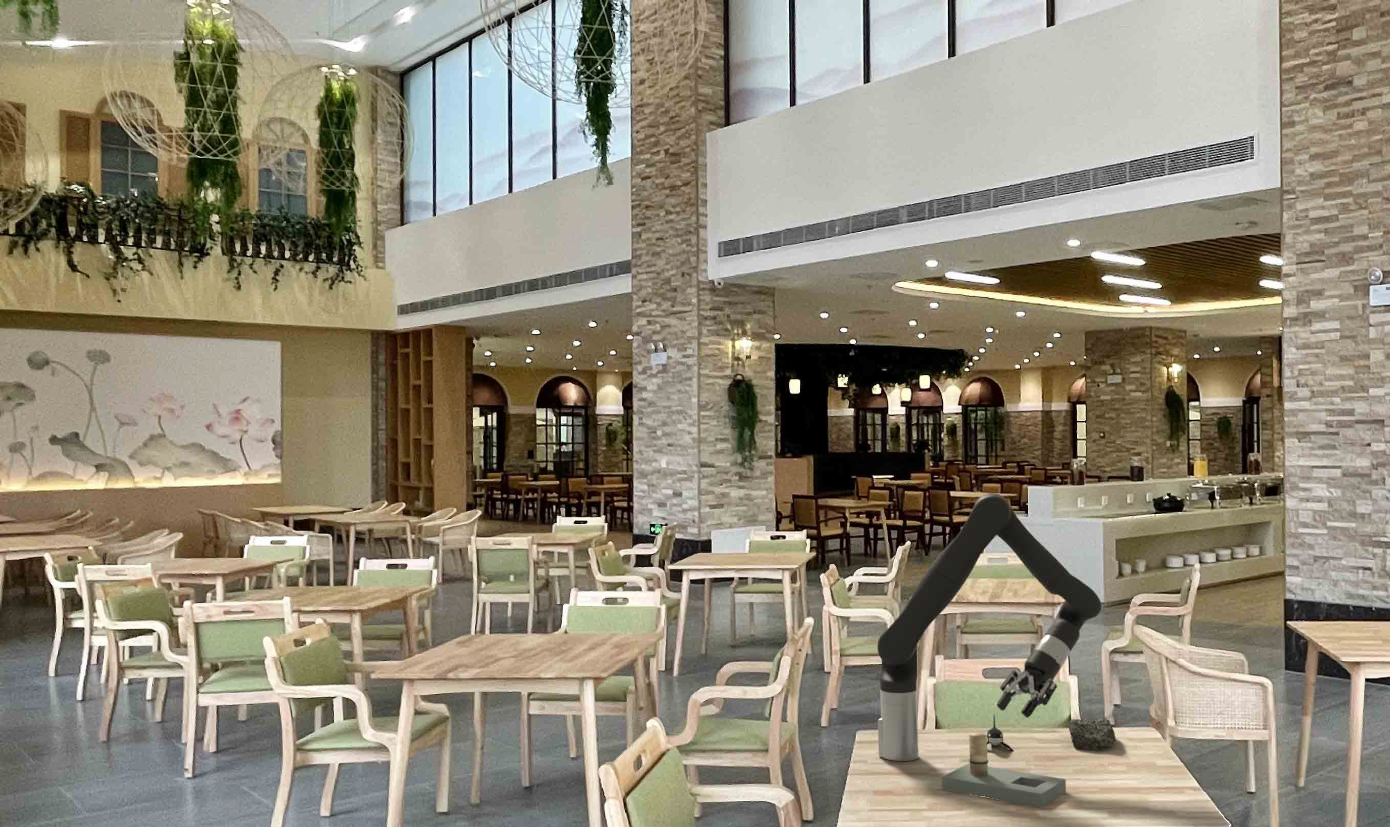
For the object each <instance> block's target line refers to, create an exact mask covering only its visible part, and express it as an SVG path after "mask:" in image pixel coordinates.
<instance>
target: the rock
mask: <svg viewBox="0 0 1390 827" xmlns="http://www.w3.org/2000/svg"><path fill="white" fill-rule="evenodd" d="M1067 721H1068V722H1067V727H1068V731H1069V735H1070V739H1071V742H1072V745H1073V748H1074V749H1075V750H1077V749H1084V750H1089V751H1090V750H1091V749H1093V750H1096V749H1095V748H1098V749H1101V748H1100V747H1102V748H1105V747H1108V746H1113V745H1114V742H1116V741H1117V738H1116V733H1115V731H1114V728H1113V726H1112V724H1111V722H1110V719H1108V717H1107V716H1104V717H1093V718H1091V717H1090V718H1085V719H1078V718H1077V719H1076V718H1073V719H1068V720H1067ZM1091 751H1092V750H1091Z"/></svg>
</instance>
